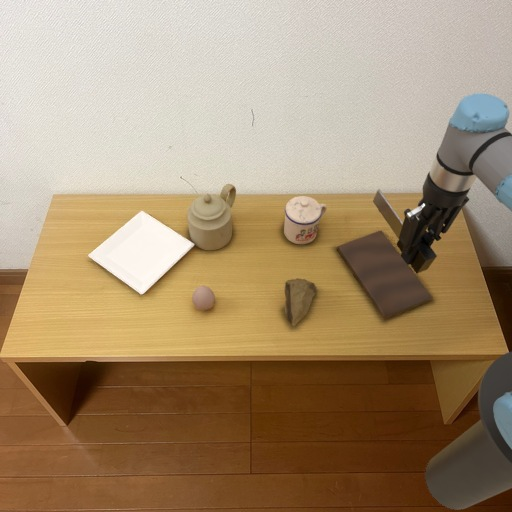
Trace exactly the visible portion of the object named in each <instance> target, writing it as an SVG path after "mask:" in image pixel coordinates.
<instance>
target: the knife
mask: <svg viewBox="0 0 512 512" xmlns="http://www.w3.org/2000/svg"><path fill="white" fill-rule="evenodd" d="M372 203H373V204H374V205H375V207H376V209H377V210H378V211H379V213H380V215H381V216H382V217H383V219H384V220H385V221H386V223H387V224H388V227H390V229H391V230H392V232H393V233H394V235H395V236H396V238H397V239H398V240H397V242H396V246H397V247H398V249H399V250H400V252H401V253H402V251H403V247H404V245H403V244H402V242H401V241H400V240H399V236H400V232H401V229H402V225H403V222H404V221H402V219H401V217H400V215H398V213H397V212H396V210H395V209H394V208H393V206H392V204H391V203H390V202H389V200H388V199H387V198H386V195H384V193H383V192H382V191H381V189H380V188H378V189H377V191H376V193H375V195H374V198H373V200H372ZM418 244H419V245H420V246H419V248H418V250H417V252H416V254H415V256H414V258H413V260H412V262H411V264H409V265H410V266H411V268H412V270H413V272H414V273H415V275H417V274H419V273H422V272H425V271H427V270H428V269H429V267H430V266H431V265H432V264H433V263H434V261H435V260H436V259H437V256H438V255H437V254H436V253H435V251H434V249H433V248H432V246H431V247H430V245H429V244H428V243H427V241H426V240H425V239H424V237H423V236H422V237H421V239H420V240H419V242H418Z"/></svg>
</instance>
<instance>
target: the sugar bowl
mask: <svg viewBox="0 0 512 512" xmlns="http://www.w3.org/2000/svg"><path fill="white" fill-rule="evenodd" d="M236 196H237V189H236V186H235V185H233V183H226V184H225V185H224V186H223V187H222V189H221V191H220V195H217V194H213V193H205V194H201V195H199V196H198V197H196V198H195V199H193V201H192V202H191V204H189V206H188V208H187V211H186V219H187V227H188V232H189V237H190V241H191V242H192V243H194V246H196V247H197V248H199V249H202V250H205V251H216V250H220V249H222V248H224V247H225V246H227V245H228V244H229V243H230V242H231V239H232V238H233V214H232V208H233V206H234V203H235V200H236Z"/></svg>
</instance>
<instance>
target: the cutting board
mask: <svg viewBox="0 0 512 512" xmlns="http://www.w3.org/2000/svg"><path fill="white" fill-rule="evenodd" d="M336 251H337V252H338V253H339V255H340V257H341V258H342V260H343V261H344V263H345V264H346V265H347V267H348V268H349V270H350V271H351V273H352V275H353V276H354V278H355V279H356V281H357V282H358V284H359V286H361V288H362V289H363V291H364V292H365V294H366V295H367V297H368V299H369V300H370V301H371V303H372V304H373V306H374V308H375V309H376V310H377V312H378V313H379V314H380V316H381V318H382V319H383V320H384V321H385V320H387V319H389V318H392V317H395V316H397V315H400V314H401V313H404V312H406V311H409V310H411V309H413V308H416V307H418V306H421V305H423V304H425V303H429V302H430V301H431V300H432V299H433V296H432V295H431V294H430V292H429V291H428V290H427V288H426V287H425V285H424V284H423V283H422V282H421V280H420V279H419V278H418V276H417V274H416V273H415V272H414V270H413V269H411V267H410V266H409V265H407V263H406V262H405V261H404V260H403V258H402V257H401V254H400V253H399V251H397V249H396V247H395V246H394V245H393V244H392V242H391V241H390V240H389V238H388V237H387V236H386V234H385V233H384V232H383V231H382V230H378V231H376V232H373V233H371V234H368V235H364V236H362V237H359V238H356V239H353V240H351V241H348V242H346V243H343V244H340V245H337V247H336Z"/></svg>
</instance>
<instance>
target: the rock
mask: <svg viewBox="0 0 512 512" xmlns="http://www.w3.org/2000/svg"><path fill="white" fill-rule="evenodd" d="M316 294H318V288H317V287H316V285H315V283H314V282H312V281H308V280H307V279H305V278H298V277H297V278H293V279H292V278H291V279H287V280H286V281H285V282H284V295H285V302H284V314H285V316H286V318H287V321H288V322H289V323H290V324H291V325H292V326H293V327H296V326H297V324H298V323H299V322H300V321H301V320H303V318H304V317H306V315H307V313H308V312H309V309H310V305H311V304H312V302H313V298H314V297H315V295H316Z"/></svg>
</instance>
